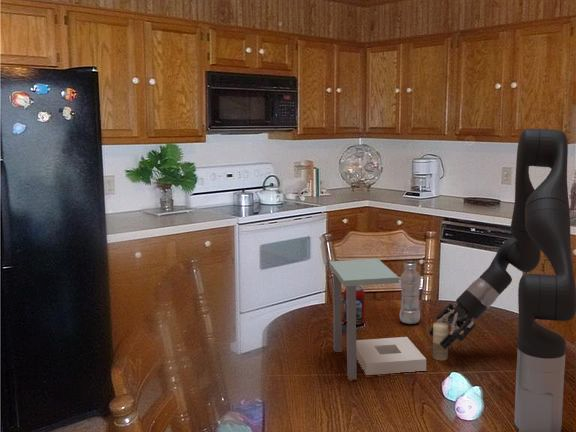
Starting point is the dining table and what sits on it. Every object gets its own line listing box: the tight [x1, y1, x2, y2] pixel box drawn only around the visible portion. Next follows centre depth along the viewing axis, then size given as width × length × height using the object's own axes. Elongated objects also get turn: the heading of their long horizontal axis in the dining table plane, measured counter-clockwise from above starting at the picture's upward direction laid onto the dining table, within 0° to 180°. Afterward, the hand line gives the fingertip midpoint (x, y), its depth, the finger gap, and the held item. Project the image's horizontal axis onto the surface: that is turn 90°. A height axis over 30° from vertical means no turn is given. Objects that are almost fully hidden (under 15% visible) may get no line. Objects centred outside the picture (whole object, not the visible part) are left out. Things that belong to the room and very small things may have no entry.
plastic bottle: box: [399, 260, 422, 325], centre depth 187 cm, size 6×7×20 cm
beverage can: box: [343, 285, 366, 324], centre depth 189 cm, size 7×7×12 cm
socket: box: [356, 336, 427, 376], centre depth 159 cm, size 16×16×4 cm
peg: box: [432, 321, 449, 361], centre depth 160 cm, size 4×4×10 cm
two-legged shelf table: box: [328, 258, 400, 380], centre depth 156 cm, size 14×20×26 cm
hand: (436, 340), depth 160 cm, fingers open, 8 cm apart
